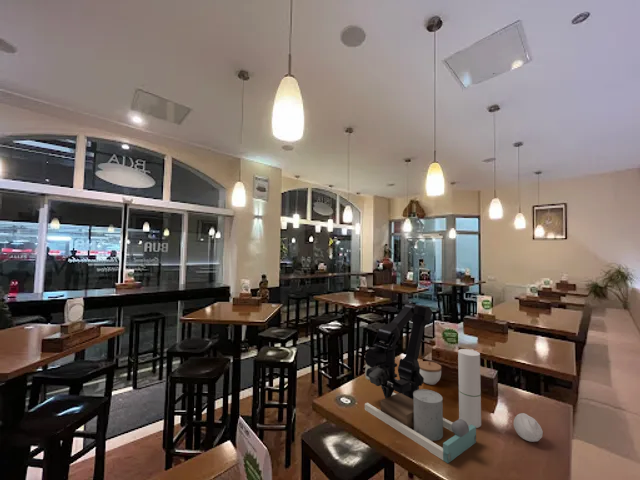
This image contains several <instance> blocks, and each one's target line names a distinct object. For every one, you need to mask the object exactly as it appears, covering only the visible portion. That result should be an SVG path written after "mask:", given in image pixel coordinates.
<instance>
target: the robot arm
mask: <svg viewBox="0 0 640 480" xmlns="http://www.w3.org/2000/svg"><path fill="white" fill-rule="evenodd" d="M432 316H433V311H432V309H431V307H430V306H428V305H420V304H413V303H405V304H404V306H403V308H402V309H401V310H400V311H399V313H398V314H397V315H396V316H395V317H394V318H393V319H392V321H390V322H389V323H385V324H384V325H382V326H381V327H379V329H378V330H377V333H376V335H375V338H374V340H373V342H372V347H369V348H368V350H367V351H366V353H365V355H364V360H365V364H367V365H368V366H370V367H372V368H368V369H367V371H366V374H365V377H366V376H368V377H369V378H370V380H369V381H370V383H371V384H374V385H375V386H376V387H380V388H381V390H382V392H383V397H384V399H385V398H388V397H390V396H391V395H392V393H393V392H394V391H395V392H396V393H401V394H403V395H405V396H407V397H409V398H411V399H413V393H414V391H416V390H419V389H420V387H422V386H423V384H424V382H423V381H424V378H423V377H422V375H421V374H420V373H419V372H420V366H419V360H418V359H419V354H420V350H421V344H422V340H423V336H424V331H425V328H426V326H427V325H428V324H429V323H430V321H431V318H432ZM409 321H411V322H412V326H411V330H410V335H409V339H408V340H409V341H408V345H407V348H406V353H405V356H404V357H403V358H400V359H399V363H396V349H398V348H399V346H398V345H397V342H398V340H399V339H400V337H401V331H402V330H403V328H404V327H405V326H406V325H407V324H408V323H409ZM396 368H397V373H398V374H397V373H396ZM397 377H399V379H397ZM413 400H414V399H413Z"/></svg>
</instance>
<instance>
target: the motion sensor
mask: <svg viewBox="0 0 640 480" xmlns="http://www.w3.org/2000/svg"><path fill="white" fill-rule="evenodd" d="M513 419H514V420H513V428H514V430H515V432H516V434H517V435H518V436H519V437H520V438H521V439H523V440H525V441H527V442H530V443H532V442H533V443H535V442H539V441H540V440H541V439H542V438H543V433H544V432H543V428H542V426H541V425H540V423H538V421H537V420H536V419H535V418H534V417H532V416H530V415H528V414H527V413H524V412H522V413H518V414H516V415H515V417H514V418H513Z"/></svg>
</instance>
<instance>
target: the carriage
mask: <svg viewBox="0 0 640 480" xmlns="http://www.w3.org/2000/svg"><path fill="white" fill-rule="evenodd" d="M380 410H381V411H382V412H384V413H386V414H387V415H389V416H391V417H392V418H394V419H396V420H397V421H399V422H400V423H402V424H404V425H405V426H407V427H409V428H410V429H412V428H414V400H413V399H411V398H409V397H407V396H405V395H403V394H402V393H399V392H396V394H395V395H393V396H390V397H388V398H385V397H384V399H380Z"/></svg>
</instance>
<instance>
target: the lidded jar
mask: <svg viewBox="0 0 640 480" xmlns="http://www.w3.org/2000/svg"><path fill="white" fill-rule="evenodd" d="M418 363H419V366H420V372H419V373H420V374H421V375H422V377H423V378H424V381H423V384H426V385H437V383H438V382H439V381H440V380H441V376H442V365H440V364H439V363H436V362H434V361H427V360H424V361H422V360H421V361H418Z"/></svg>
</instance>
